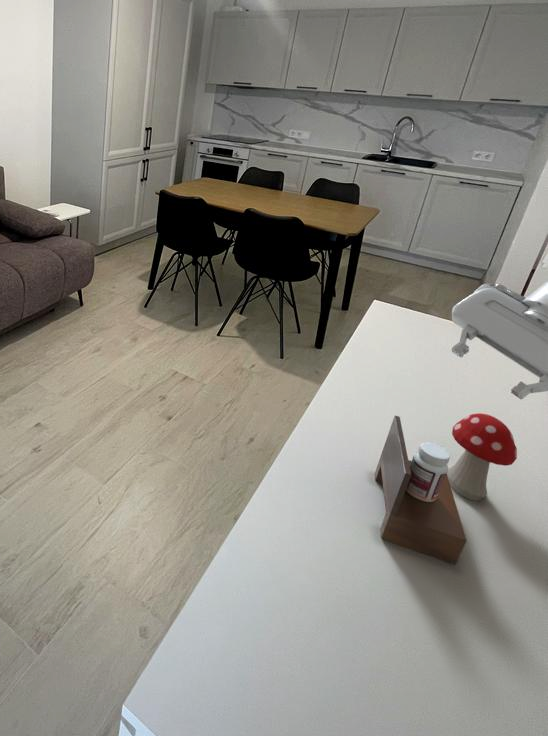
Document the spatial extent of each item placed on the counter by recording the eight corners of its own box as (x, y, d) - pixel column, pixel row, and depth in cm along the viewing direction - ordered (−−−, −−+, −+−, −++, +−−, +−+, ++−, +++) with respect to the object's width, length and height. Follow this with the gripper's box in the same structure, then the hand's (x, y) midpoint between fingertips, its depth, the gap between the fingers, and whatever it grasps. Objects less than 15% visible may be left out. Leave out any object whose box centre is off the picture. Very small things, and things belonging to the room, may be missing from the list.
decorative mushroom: (508, 509, 86) (543, 438, 80) (462, 509, 85) (494, 438, 79) (465, 467, 95) (493, 402, 89) (423, 467, 94) (448, 401, 89)
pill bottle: (425, 482, 83) (441, 441, 80) (442, 504, 79) (460, 462, 76) (397, 479, 83) (412, 438, 80) (412, 501, 79) (428, 459, 76)
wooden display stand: (437, 493, 88) (461, 433, 83) (455, 565, 74) (486, 498, 69) (374, 473, 91) (394, 415, 87) (380, 538, 78) (405, 473, 73)
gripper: (490, 268, 81) (423, 322, 82) (642, 348, 66) (557, 413, 67) (489, 288, 85) (425, 340, 86) (632, 368, 70) (553, 429, 71)
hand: (484, 373), depth 76 cm, fingers open, 8 cm apart
